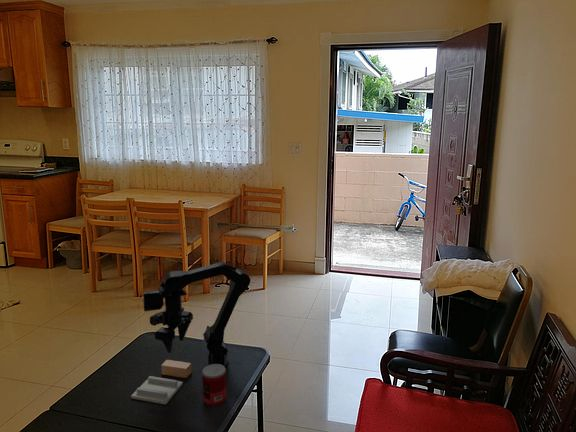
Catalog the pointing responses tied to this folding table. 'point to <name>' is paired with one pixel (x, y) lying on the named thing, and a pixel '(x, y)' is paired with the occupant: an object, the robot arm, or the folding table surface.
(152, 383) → the deck plate
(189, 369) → the chute block
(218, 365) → the canned food
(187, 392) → the folding table surface
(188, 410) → the folding table surface
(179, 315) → the robot arm
